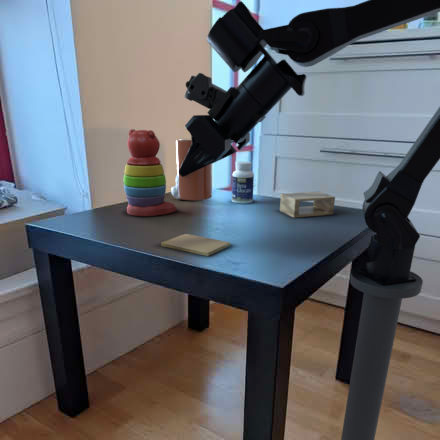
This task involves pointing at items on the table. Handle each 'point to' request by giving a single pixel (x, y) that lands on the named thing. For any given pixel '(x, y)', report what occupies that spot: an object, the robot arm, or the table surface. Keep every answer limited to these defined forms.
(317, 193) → the box
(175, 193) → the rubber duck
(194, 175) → the cylinder
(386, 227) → the robot arm
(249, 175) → the pill bottle
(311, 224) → the table surface
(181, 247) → the cork mat
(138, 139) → the stacking bear
